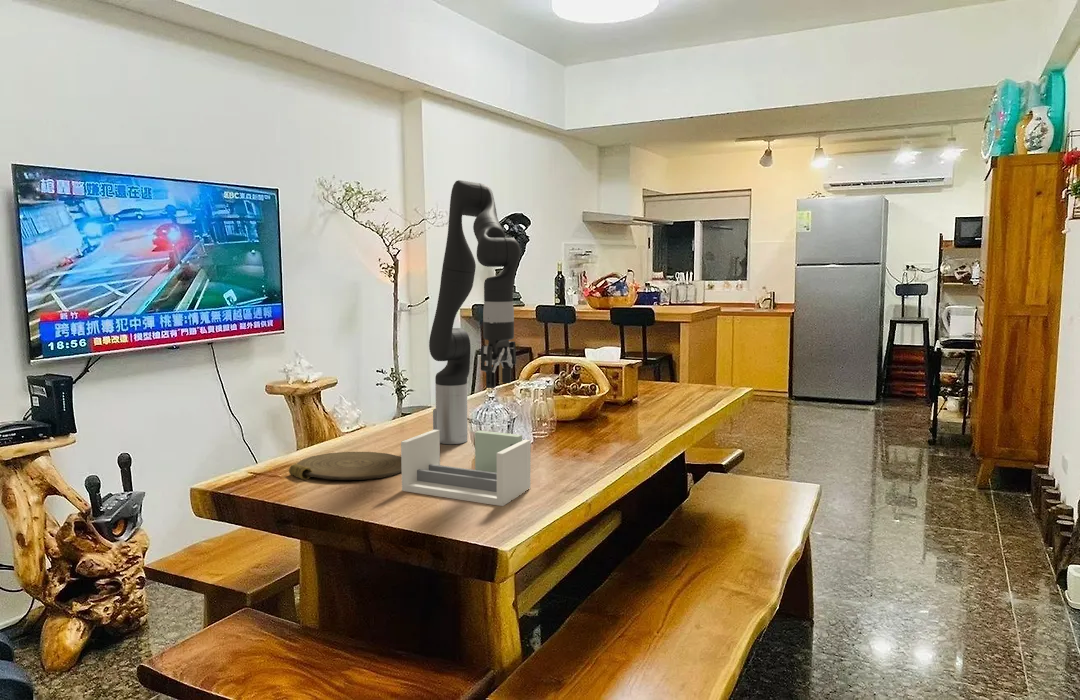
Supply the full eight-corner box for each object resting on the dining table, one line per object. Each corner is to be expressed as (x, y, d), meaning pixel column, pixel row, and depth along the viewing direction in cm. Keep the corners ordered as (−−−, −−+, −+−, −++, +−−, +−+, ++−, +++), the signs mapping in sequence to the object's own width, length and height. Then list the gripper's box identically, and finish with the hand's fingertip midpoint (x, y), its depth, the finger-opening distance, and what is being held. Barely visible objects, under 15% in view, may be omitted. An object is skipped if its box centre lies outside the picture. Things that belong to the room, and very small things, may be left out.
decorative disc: (433, 460, 191) (330, 479, 169) (433, 473, 191) (330, 493, 169) (368, 442, 210) (268, 456, 188) (368, 454, 211) (268, 469, 189)
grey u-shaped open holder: (401, 490, 171) (401, 441, 169) (434, 475, 183) (434, 429, 182) (502, 506, 160) (502, 453, 159) (530, 488, 173) (530, 440, 171)
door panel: (474, 471, 187) (474, 432, 186) (479, 468, 190) (479, 430, 189) (517, 477, 182) (517, 437, 181) (522, 474, 185) (522, 435, 184)
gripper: (498, 317, 190) (498, 380, 192) (470, 321, 177) (471, 388, 179) (524, 318, 187) (524, 382, 189) (498, 322, 174) (499, 390, 176)
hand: (498, 385), depth 184 cm, fingers open, 8 cm apart
